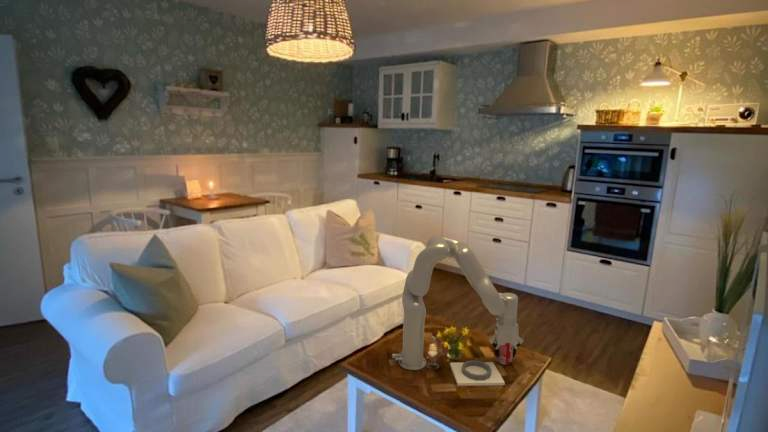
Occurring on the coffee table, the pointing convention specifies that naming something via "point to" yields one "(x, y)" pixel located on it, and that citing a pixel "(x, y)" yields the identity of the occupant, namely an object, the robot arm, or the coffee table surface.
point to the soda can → (505, 354)
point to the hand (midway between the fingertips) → (504, 355)
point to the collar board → (476, 373)
